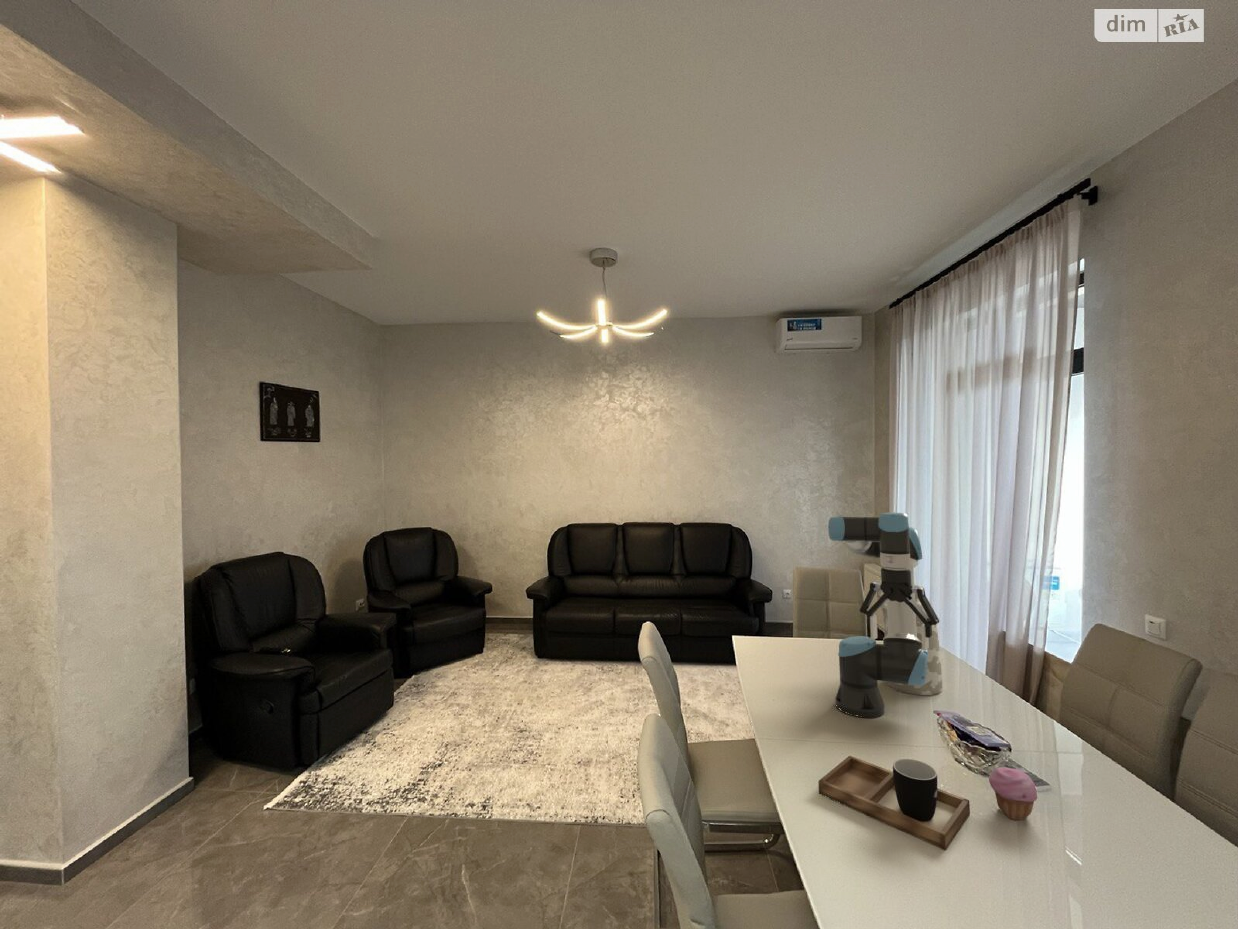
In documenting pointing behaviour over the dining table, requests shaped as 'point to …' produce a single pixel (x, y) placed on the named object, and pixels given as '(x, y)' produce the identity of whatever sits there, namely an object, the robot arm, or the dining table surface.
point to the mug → (915, 788)
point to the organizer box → (892, 801)
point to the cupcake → (1013, 792)
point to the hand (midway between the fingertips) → (899, 643)
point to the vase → (933, 660)
